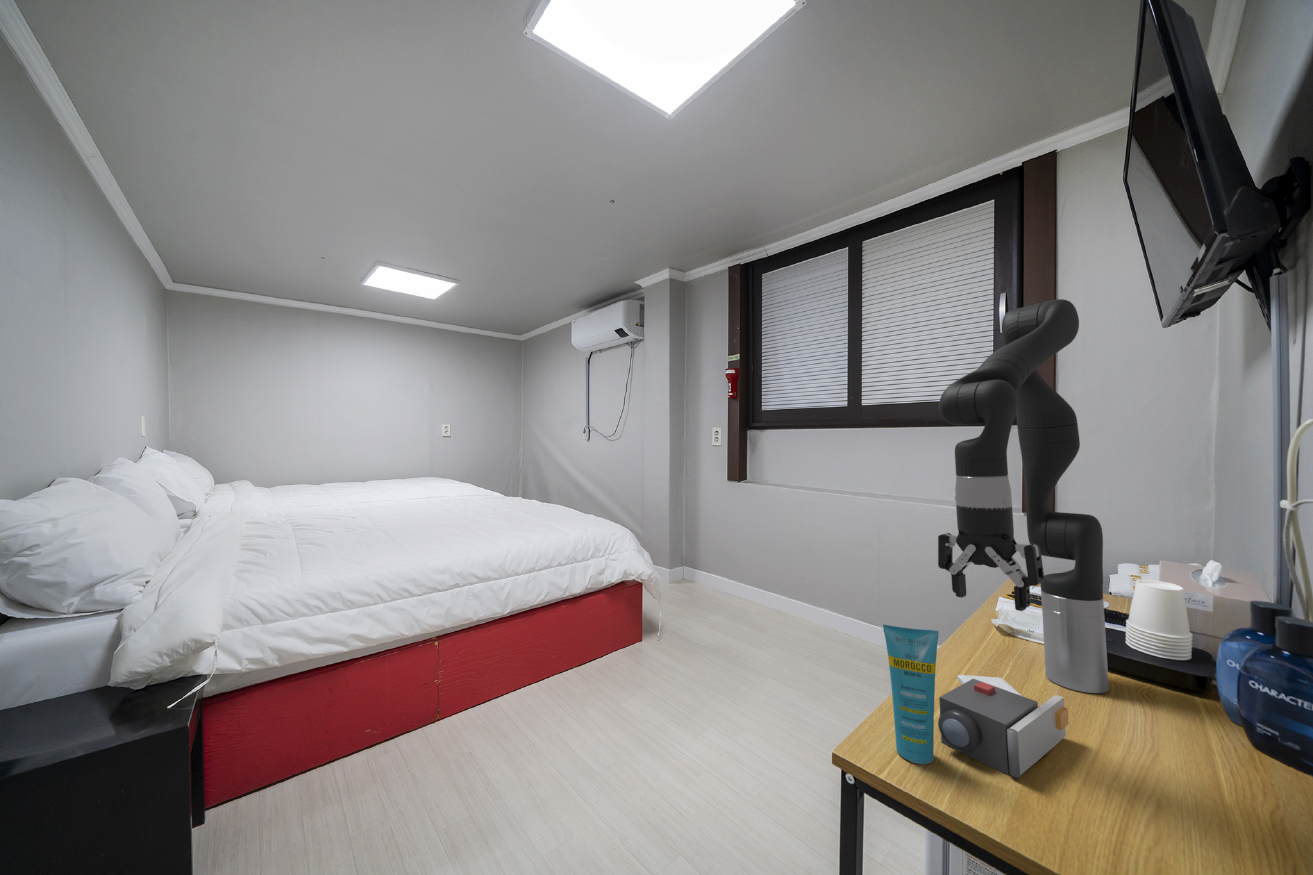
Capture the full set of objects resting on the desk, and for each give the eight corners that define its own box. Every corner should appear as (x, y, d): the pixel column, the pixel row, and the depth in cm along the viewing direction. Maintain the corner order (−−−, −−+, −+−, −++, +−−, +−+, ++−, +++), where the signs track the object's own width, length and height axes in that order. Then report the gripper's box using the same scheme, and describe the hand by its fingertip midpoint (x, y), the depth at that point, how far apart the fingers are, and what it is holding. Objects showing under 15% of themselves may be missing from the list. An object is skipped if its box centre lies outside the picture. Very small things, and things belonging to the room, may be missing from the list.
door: (1057, 732, 74) (1055, 694, 74) (1070, 738, 72) (1068, 699, 73) (1007, 773, 65) (1005, 730, 65) (1022, 780, 63) (1019, 736, 63)
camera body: (975, 720, 78) (973, 673, 79) (1040, 748, 71) (1037, 696, 71) (933, 747, 71) (931, 696, 72) (1000, 781, 64) (997, 723, 64)
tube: (889, 758, 69) (884, 629, 70) (886, 740, 73) (881, 618, 74) (947, 770, 66) (941, 635, 67) (940, 750, 71) (934, 623, 72)
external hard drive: (1003, 685, 91) (1042, 721, 79) (957, 682, 93) (989, 716, 80) (1002, 677, 91) (1042, 711, 79) (957, 674, 93) (988, 707, 80)
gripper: (1046, 504, 71) (1053, 609, 71) (948, 498, 83) (954, 588, 83) (1025, 509, 67) (1033, 620, 67) (926, 502, 79) (932, 596, 79)
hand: (989, 602), depth 75 cm, fingers open, 8 cm apart
